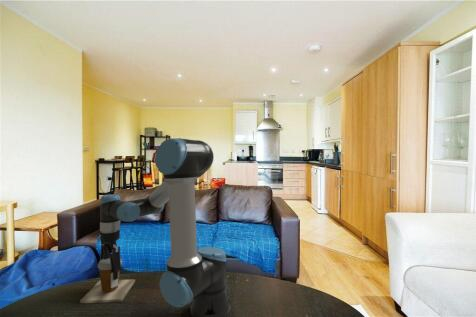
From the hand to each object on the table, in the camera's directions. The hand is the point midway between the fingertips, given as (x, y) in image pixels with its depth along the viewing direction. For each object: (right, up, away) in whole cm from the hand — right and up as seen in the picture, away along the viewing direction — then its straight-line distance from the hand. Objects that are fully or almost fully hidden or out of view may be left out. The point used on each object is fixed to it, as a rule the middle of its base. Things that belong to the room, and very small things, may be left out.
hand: (109, 282), depth 105 cm
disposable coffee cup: (0, -3, 0) cm, 3 cm away
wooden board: (0, -4, 0) cm, 4 cm away
